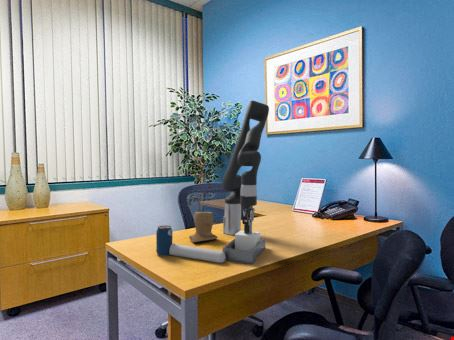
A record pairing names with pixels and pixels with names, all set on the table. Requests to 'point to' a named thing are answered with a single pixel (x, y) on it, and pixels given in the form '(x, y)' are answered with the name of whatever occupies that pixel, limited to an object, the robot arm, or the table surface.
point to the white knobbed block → (247, 239)
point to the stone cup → (203, 227)
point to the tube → (197, 253)
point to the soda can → (163, 240)
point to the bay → (243, 252)
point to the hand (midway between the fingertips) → (247, 231)
